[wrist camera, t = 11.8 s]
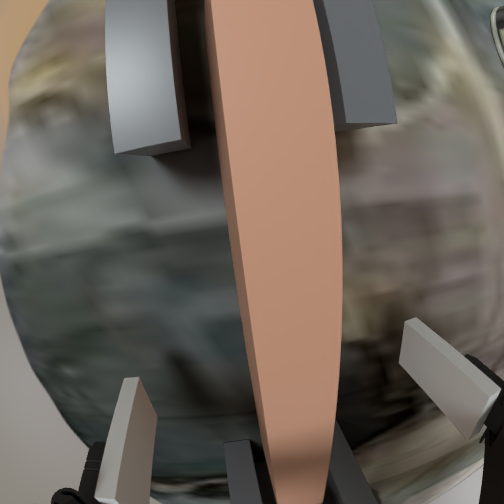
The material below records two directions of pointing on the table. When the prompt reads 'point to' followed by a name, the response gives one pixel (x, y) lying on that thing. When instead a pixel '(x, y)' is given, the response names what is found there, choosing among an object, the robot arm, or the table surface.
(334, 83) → the near end cap
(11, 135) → the table surface
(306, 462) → the slat
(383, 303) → the table surface
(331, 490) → the cap
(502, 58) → the coffee can
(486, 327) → the table surface
